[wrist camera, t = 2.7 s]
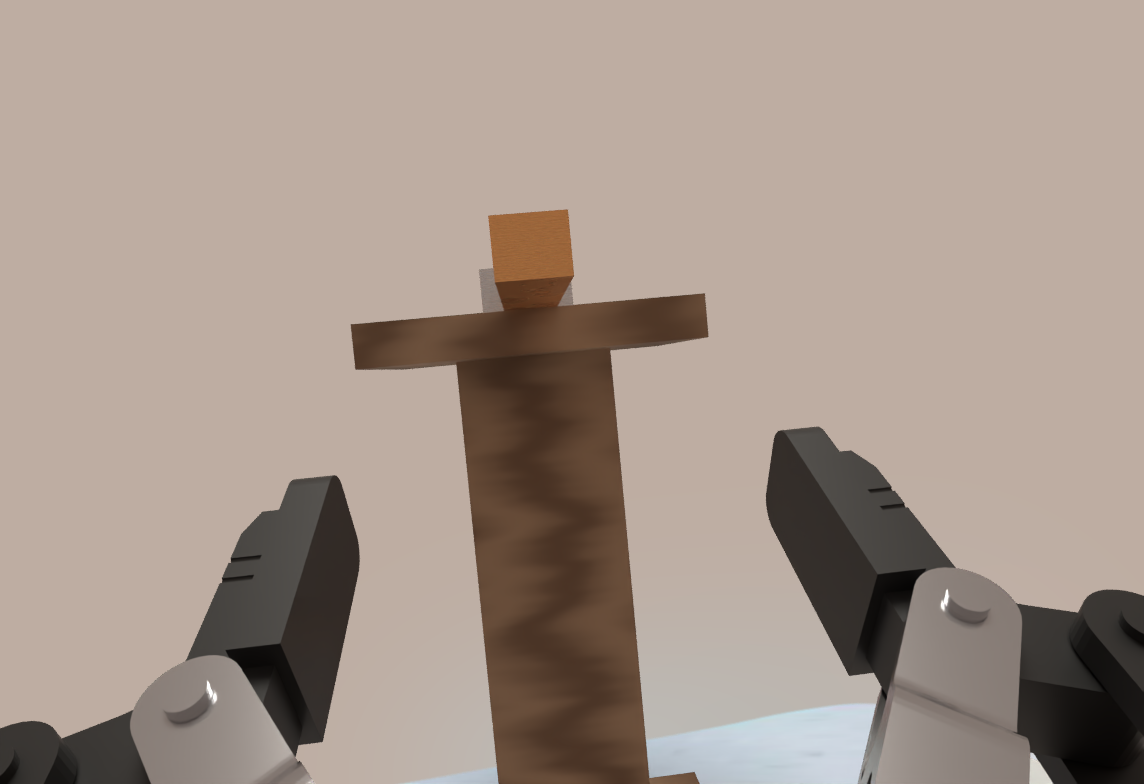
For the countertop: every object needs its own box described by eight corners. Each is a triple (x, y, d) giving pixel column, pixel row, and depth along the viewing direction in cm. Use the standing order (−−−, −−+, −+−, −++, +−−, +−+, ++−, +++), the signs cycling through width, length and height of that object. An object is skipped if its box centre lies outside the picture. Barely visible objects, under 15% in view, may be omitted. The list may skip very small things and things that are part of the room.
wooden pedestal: (424, 1016, 31) (350, 324, 30) (452, 836, 43) (400, 337, 42) (761, 962, 32) (704, 293, 31) (697, 801, 44) (653, 314, 43)
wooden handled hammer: (451, 286, 20) (441, 185, 20) (489, 329, 42) (484, 281, 42) (616, 271, 20) (607, 172, 20) (568, 322, 42) (563, 274, 42)
